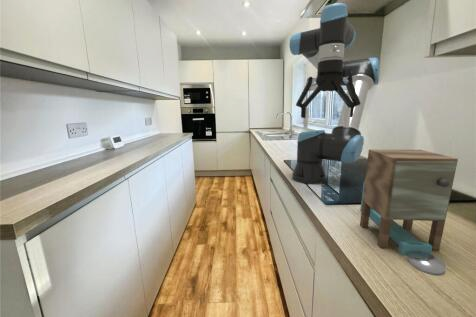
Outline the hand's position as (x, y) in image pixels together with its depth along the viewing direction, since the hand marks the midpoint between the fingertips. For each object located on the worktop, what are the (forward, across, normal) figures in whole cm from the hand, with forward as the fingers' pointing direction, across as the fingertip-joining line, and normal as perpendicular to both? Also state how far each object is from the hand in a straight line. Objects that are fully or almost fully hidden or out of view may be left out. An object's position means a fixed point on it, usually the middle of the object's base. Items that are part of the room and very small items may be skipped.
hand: (325, 127), depth 75 cm
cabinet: (+26, +12, -23) cm, 37 cm away
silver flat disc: (+27, +12, -34) cm, 45 cm away
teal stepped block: (+26, +12, -20) cm, 35 cm away
